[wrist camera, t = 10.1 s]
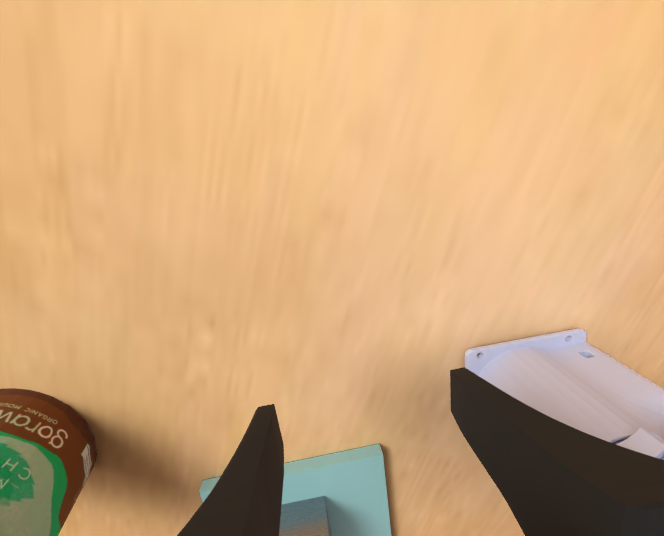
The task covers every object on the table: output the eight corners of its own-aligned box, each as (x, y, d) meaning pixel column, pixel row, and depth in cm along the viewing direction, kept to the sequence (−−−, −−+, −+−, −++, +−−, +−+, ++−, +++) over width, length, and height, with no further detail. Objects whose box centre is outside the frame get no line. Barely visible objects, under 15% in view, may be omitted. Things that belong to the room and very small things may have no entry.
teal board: (379, 443, 26) (382, 454, 25) (390, 550, 30) (394, 563, 29) (202, 480, 25) (199, 492, 24) (239, 585, 29) (238, 599, 28)
